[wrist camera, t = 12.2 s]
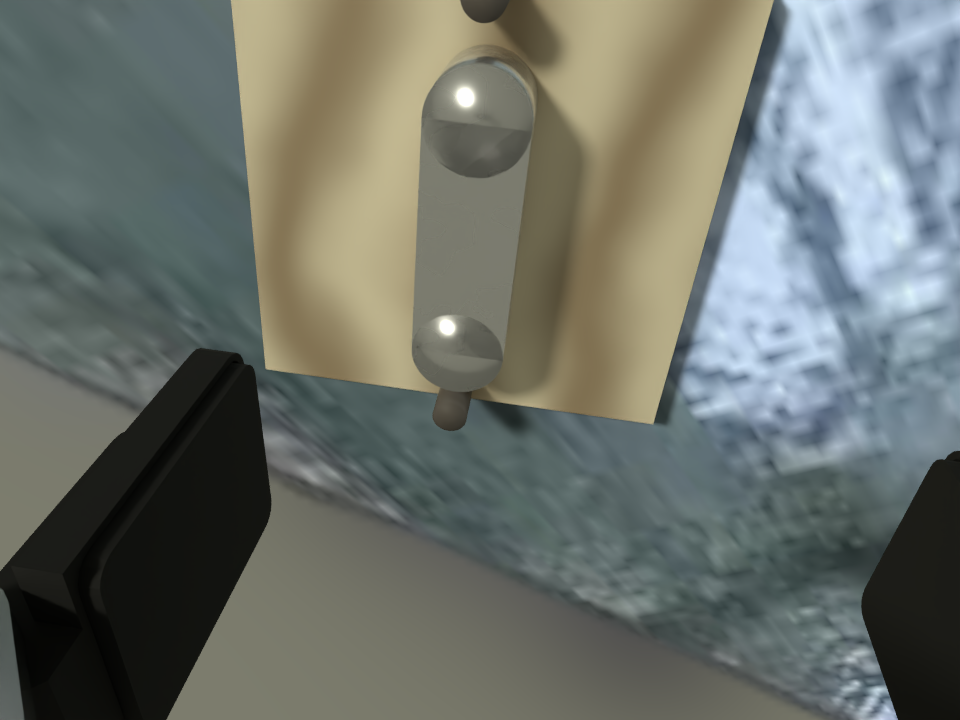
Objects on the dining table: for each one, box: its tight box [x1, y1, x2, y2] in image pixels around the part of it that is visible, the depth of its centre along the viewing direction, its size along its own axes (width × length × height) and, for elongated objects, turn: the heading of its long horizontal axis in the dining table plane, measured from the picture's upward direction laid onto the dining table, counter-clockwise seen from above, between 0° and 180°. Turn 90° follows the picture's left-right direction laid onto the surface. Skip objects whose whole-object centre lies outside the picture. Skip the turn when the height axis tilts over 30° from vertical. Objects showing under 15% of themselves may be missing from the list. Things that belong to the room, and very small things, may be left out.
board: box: [231, 0, 774, 431], centre depth 32 cm, size 20×20×4 cm
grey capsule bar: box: [412, 44, 538, 392], centre depth 31 cm, size 4×14×4 cm, turn 175°
